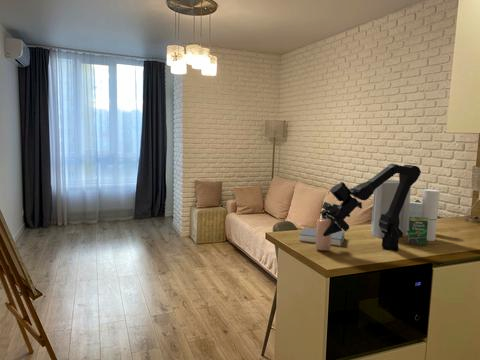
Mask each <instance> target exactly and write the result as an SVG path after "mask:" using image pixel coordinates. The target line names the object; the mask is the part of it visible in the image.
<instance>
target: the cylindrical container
mask: <svg viewBox="0 0 480 360" xmlns="http://www.w3.org/2000/svg"><path fill="white" fill-rule="evenodd" d="M440 194H441V191H440V190H438V189H431V188H430V189H429V188H425V189H423V195H422V196H423V197H422V202H421V203H422V214H421V218H428V228H427V242H433V241H436V234H437V233H436V232H437V224H438V215H439V205H440V204H439V203H440V196H441V195H440Z"/></svg>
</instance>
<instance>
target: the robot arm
mask: <svg viewBox="0 0 480 360" xmlns="http://www.w3.org/2000/svg"><path fill="white" fill-rule="evenodd" d="M421 173H422V171H421V169H420V167H419V166H417V165H412V164H404V165H400V164H395V163H390V164H387V166H386V167H385V168H383V169H382V170H381V171H379V172H378V173H377V174H375V175H374V176H373V177H372V178H370V179H369V180H367V181H364V182H362V183H359V184H357V185H355V186H354V187H352V188H348V186H347V185H346V183H345V182H343V181H341V182H340V183H337V184H335V185H333V186H332V187H331V189H330V194H332V195H333V197H335V199H337V201H338V202H341V203H340V204H336V203H334V202H333V203H329V202H327V201H324V203H323V204H322V206H321V209H322V210H321V211H320V212H319V213H320V214H321V219H329V220H331V225H330V226H329V227H328V229H327V230H326V231H325V232H324V234H323V235H324V236H328V235H330V234H333V233H336V232H339V231H340V232H347V231H348V230H349V229H350V225H349V224H348V223H347V222H346V221H345V220H346V218H347V217H348V218H350V217H351V213H352V212H353V211H354V210H356V208H358V209H361V210H362V209H363V202H362V201H367V200H369V198H371V196H372V195H374V190H375V189H376V188H377V187H379V186H380V185H381V184H383V183H384V182H385V181H387V180H390V179H391V178H392V177H393V176H395V175H397V174H399V175H398V177H399V180H398V181H400V182H399V185H398V188H397V190H396V193H395V195H394V198H393V200H392V203H391V205H390V208H389V210H388V212H387V213H386V214H381V217H380V220H379V221H378V222H379V227H380V229H381V231H382V233H384V237H383V238H381V240H382V241H381V247H382V250H389V251H396V252H398V251H399V241H400V238H401V239H402V238H403V237H404V235H403V232H402V231H401V230H400V229H399V223H400V221H399V214H400V212H401V209H402V207H403V204H404V202H405V199H406V197H407V194H408V192H409V189H410V187H411V188H412V185H414V184H415V183H417V181H418V180H419V178H420V176H421ZM352 196H353V197H352ZM359 200H360V201H359Z"/></svg>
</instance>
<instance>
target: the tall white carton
mask: <svg viewBox="0 0 480 360" xmlns="http://www.w3.org/2000/svg"><path fill="white" fill-rule="evenodd" d="M399 182H400V181H399V180H398V179H396V180H395V179H388V180H387V181H385V182H384V183H383V184H381V185H380V186H379V187H377V188H376V189H375V190H374V192H373V197H372V211H371V213H372V214H371V225H370V227H371V228H370V232H371V234H372V235H371V236H373V237H376V238H377V239H382V238H383V237H384V233H382V231H381V229H380V227H379V222H378V221H379V220H380V217H381V214H386V213H387V212H388V210H389V208H390V205H391V203H392V200H393V198H394V195H395V193H396V190H397V188H398V185H399ZM411 189H412V186H411V187H410V189H409V192H408V194H407V197H406V199H405V202H404V204H403V207H402V209H401V212H400V214H399V221H400V223H399V229H400V230H401V231H402V232H403V236H407V235H408V233H407V232H408V231H407V225H408V214H409V202H411Z"/></svg>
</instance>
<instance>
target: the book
mask: <svg viewBox="0 0 480 360" xmlns="http://www.w3.org/2000/svg"><path fill="white" fill-rule="evenodd" d="M316 229H317V228H313V227H303V228H302V230H301V231H300V232H299V234H298V241H299V242H307V243H314V244H316ZM344 240H345V231H339V232H336V233H333V234H331V246H338V247H343V244H344Z"/></svg>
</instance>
